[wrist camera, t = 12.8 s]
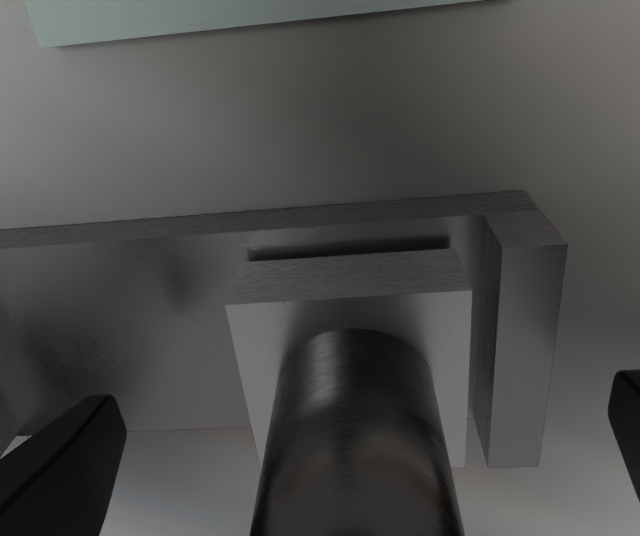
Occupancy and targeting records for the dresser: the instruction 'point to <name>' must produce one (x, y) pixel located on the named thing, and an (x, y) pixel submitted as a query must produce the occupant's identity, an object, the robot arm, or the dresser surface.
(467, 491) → the dresser surface
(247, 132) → the dresser surface
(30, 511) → the robot arm
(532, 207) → the rail
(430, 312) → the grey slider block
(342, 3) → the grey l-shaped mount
